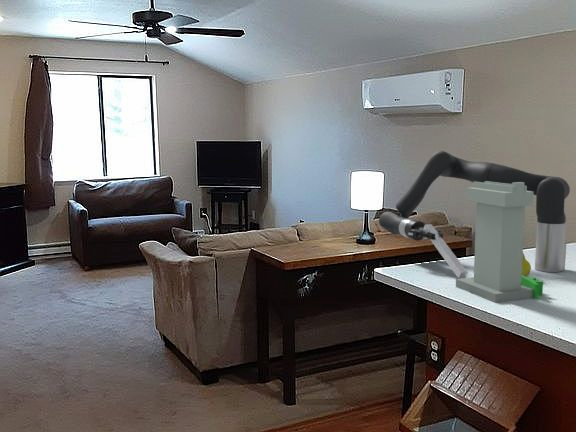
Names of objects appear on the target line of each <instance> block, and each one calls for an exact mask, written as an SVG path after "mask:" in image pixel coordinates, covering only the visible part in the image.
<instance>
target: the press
mask: <svg viewBox="0 0 576 432" xmlns="http://www.w3.org/2000/svg"><path fill="white" fill-rule="evenodd" d="M472 183H473V184H472V187H466V188H465V189H466V190H465V191H466V193H465V201H467V202H474V203H476V209H475V212H476V213H475V233H474V234H475V236H474V237H475V238H474V259H473V261H474V263H473V264H474V265H473V277H465V278H456V279H455V288H458V289H461V290H463V291H465V292H468V293H471V294H473V295H476V296H477V297H481V298H483V299H484V300H485V299H486V300H488V301H490V302H493V303H501V302H509V301H515V300H516V301H519V300H524V299H534V298H533V296H534V289H531V288H528V287H525V286H522V285H521V279H522V258H523V253H524V239H525V238H524V236H525V235H524V234H525V218H526V217H525V214H526V207H527V206H533V205H534V195H533V192H532V191H527V186H524V182H513V183H512V184H506V183H498V182H489V181H484V183H482V182H472Z"/></svg>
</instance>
